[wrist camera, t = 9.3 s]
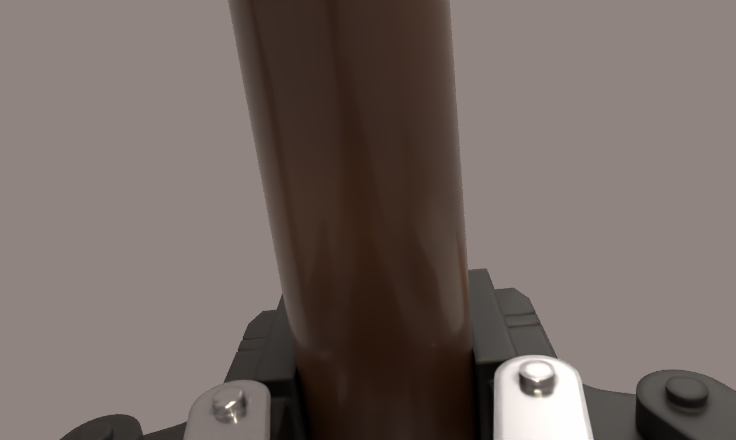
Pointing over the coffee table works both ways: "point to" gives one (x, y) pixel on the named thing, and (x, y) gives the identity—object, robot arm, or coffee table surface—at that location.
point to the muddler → (365, 210)
